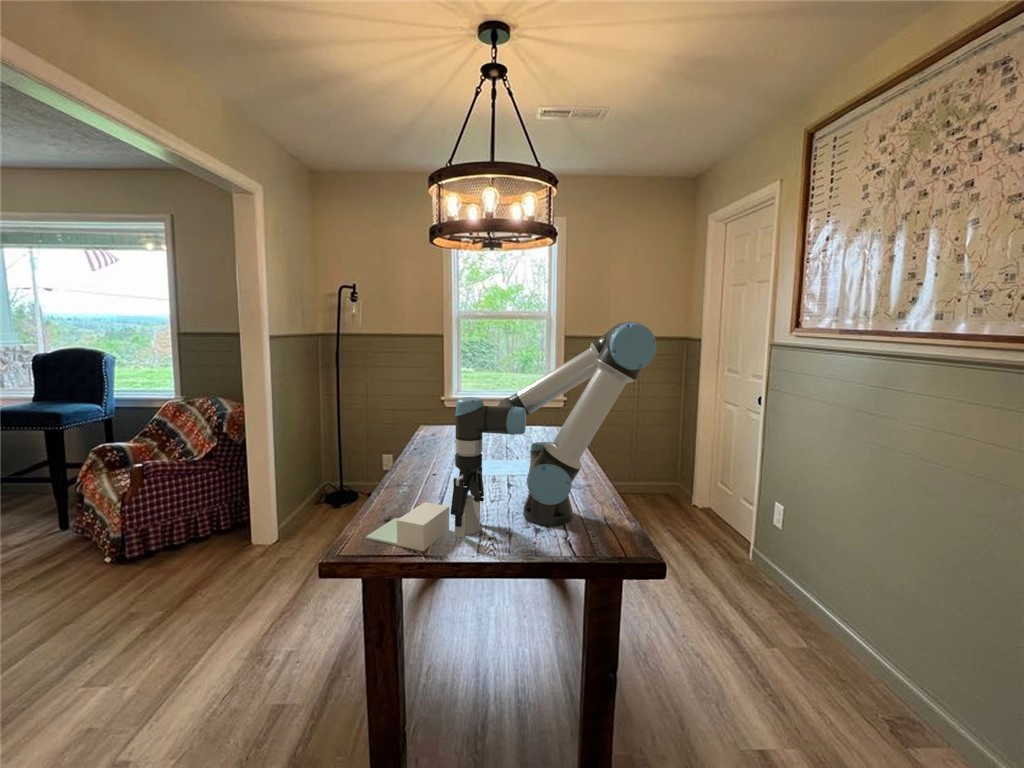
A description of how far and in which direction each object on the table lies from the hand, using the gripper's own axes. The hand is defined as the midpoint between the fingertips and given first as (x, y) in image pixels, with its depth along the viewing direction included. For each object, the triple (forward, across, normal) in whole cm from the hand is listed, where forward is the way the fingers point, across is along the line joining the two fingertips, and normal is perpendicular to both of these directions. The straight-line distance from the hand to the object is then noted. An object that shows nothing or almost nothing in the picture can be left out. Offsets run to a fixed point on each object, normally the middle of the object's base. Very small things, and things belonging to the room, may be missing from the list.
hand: (467, 529), depth 138 cm
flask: (0, 0, 0) cm, 0 cm away
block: (0, +9, -9) cm, 13 cm away
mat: (0, +9, -18) cm, 20 cm away
